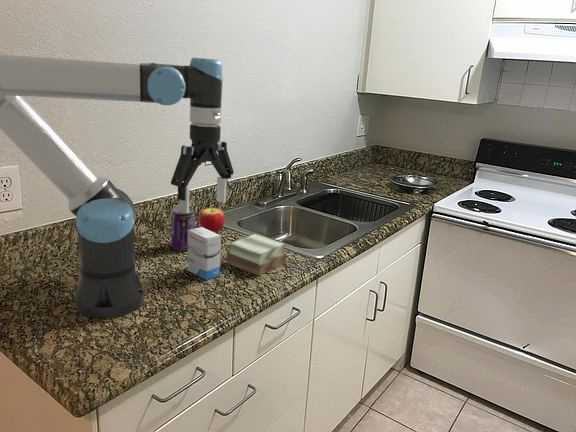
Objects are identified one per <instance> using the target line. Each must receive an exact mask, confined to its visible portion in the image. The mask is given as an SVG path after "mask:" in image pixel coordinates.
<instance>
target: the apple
mask: <svg viewBox="0 0 576 432" xmlns="http://www.w3.org/2000/svg"><path fill="white" fill-rule="evenodd" d="M225 218H226V217H225V213H224V212H223V210H222V209H220V208H216V207H215V208H214V207H213V205H212V202H210V207H208V208H203V209H202V210H201V211H200V212H199V215H198V221H199V224H200V226H201V227H203V228H205V229H208V230H210V231H212V232H214V233H217V232H219V231H221V229H223V227H224V224H225Z"/></svg>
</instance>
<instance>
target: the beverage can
mask: <svg viewBox="0 0 576 432" xmlns="http://www.w3.org/2000/svg"><path fill="white" fill-rule="evenodd" d="M194 211H195V210H194V208H192V207H189V213H184V212H181V211H179V206H178V207H174V208H173V209H172V213H171V215H170V240H171V241H170V243H171V244H170V245H171V246H170V247H171V248H172V249H175V250H177V251H179V252H180V251H181V252H182V251H183V252H184V251H187V252H188V230H190V229H195V228H196V214H195V212H194Z"/></svg>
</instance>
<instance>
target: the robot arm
mask: <svg viewBox="0 0 576 432" xmlns="http://www.w3.org/2000/svg"><path fill="white" fill-rule="evenodd" d="M223 80H224V79H223V63H222V62H221V60H219V59H214V58H206V57H205V58H203V57H192V58H191V59H190V63H189V65H177V64H167V63H165V64H164V63H156V62H142V63H138V64H137V63H124V62H122V63H121V62H109V61H98V60H97V61H93V60H82V59H81V60H80V59H70V58H69V59H67V58H55V57H53V58H52V57H40V56H26V55H16V54H15V55H12V54H2V52H0V131H1V132H2V133H3V134H4V135H6V136H7V138H8V139H10V141H11V142H12V143H13V144H14V145H15V146H16V147H17V148H18V149H19V150H20V151H21V152H22V153H23V154H24V155H25V156H26V157H27V158H28V159H29V160H30V161H31V162H32V164H33V165H35V167H36V168H37V169H38V170H40V172H41V173H42V174H43V175H44V176H45V177H46V178H48V180H49V181H50V182H51V183H52V184H53V185H54V186H55V187H56V188H57V190H59V192H61V193H62V194H63V196H64V197H65V198H66V199H67V200H68V210H69V211H70V212H71V213H72V214H73V216H75V218H76V222H75V225H76V230H77V237H78V239H77V240H78V251H79V252H78V253H79V265H80V277H79V280H78V284H77V288H76V291H75V293H74V307H75V310H76V311H77V312H78V313H79V314H80V315H83V316H85V317H88V318H91V319H93V318H94V319H111V318H119V317H122V316H125V315H129V314H131V313H133V312H135V311H136V310H138V309H140V308H141V306H143V305H144V302H145V290H144V287H143V284H142V282H141V279H140V276H139V275H138V273H137V270H136V253H135V222H136V221H135V220H136V208H135V205H134V201H133V200H132V199H131V197H130V196H129V195H128V194H127V192H125V191H124V190H121V189H120V188H118V187H116V186H115V184H114V183H112V181H111V180H110V179H109V178H108V177H102V176H101V177H100V176H98V175H97V174H96V173H95V172H94V171H93V170H92V169H91V167H90V166H88V164H87V163H86V162H85V161H84V160H83V158H81V156H79V154H78V153H77V152H76V151H75V150H74V149H73V147H71V146H70V145H69V143H68V142H67V141H66V140H65V139H64V138H63V137H62V136H61V134H59V132H58V131H57V130H56V129H55V128H54V127H53V126H52V125H51V123H50V122H48V120H47V119H46V118H45V117H44V116H43V115H42V114H41V113H40V111H38V109H37V108H36V107H35V106H34V105H33V104H32V102H30V101H29V99H28V98H27V97H31V98H33V97H34V98H51V99H52V98H54V99H74V100H75V99H76V100H94V101H114V102H116V101H117V102H134V103H135V102H139V103H140V102H141V103H151V104H153V103H154V104H160V105H162V106H173V105H176V104H178V103H179V102H180V101H181V100H182V99H189V106H190V107H189V122H190V123H191V124H190V125H189V139H190V140H191V145H190V146H188V145H182V146H181V147H180V148H181V149H180V156H179V158H178V161H177V163H176V166H175V169H174V172H173V175H172V178H171V181H170V185H172V186H174V187H175V186H176V187H177V199H178V201H179V203H178V207H179V211H181V212H184V213H189V208H190V186H188V185H189V183H190V181H191V180H192V178H193V176H194V175H195V173H196V172H197V170H198V167H199V166H201V165H202V164H204V163H206V162H208V163H209V162H211V165H212V166H213V168H214V169H215V170H216V172H217V174H218V176H217V178H216V202H220V203H224V204H225V203H227V189H228V183H229V182H228V181H229V180H228V179H232V176H233V175H234V173H235V172H234V168H233V165H232V161H231V159H230V156H229V155H230V154H229V152H228V148H227V147H228V145H227V144H228V143H227V142H226V141H223V140H221V126H220V124H221V123H222V122H221V121H222V120H221V117H222V99H223V98H222V97H223V95H222V94H223V82H224V81H223Z"/></svg>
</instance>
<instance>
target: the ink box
mask: <svg viewBox="0 0 576 432" xmlns="http://www.w3.org/2000/svg"><path fill="white" fill-rule="evenodd" d="M221 236H222V235H221V234H218V233H217V232H215V233H214V232H212V231H210V230H208V229H205V228H203V227H195V229H190V230H188V250H187V271H188V272H190V273H192V274H194V275H195V276H198V277H200V278H201V279H203V280H206V281H208V280H211V279H214V278H217V277H219V276H221V247H222V246H221V238H222V237H221Z"/></svg>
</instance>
